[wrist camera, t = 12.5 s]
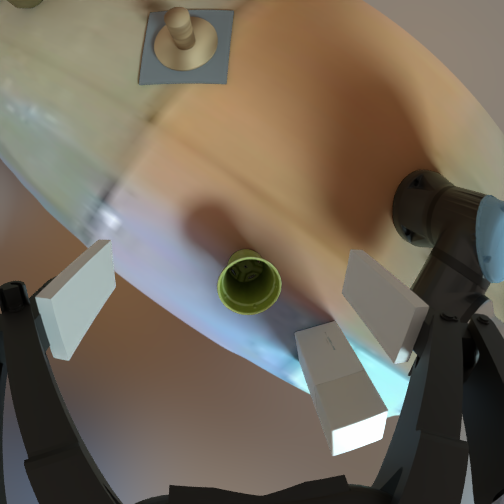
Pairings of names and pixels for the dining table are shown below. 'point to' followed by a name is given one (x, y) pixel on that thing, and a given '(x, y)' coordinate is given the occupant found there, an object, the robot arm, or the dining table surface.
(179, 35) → the beige disc-based post
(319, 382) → the tall white carton
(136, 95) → the dining table surface
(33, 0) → the squeeze bottle
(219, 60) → the mat
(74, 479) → the robot arm
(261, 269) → the plant pot
